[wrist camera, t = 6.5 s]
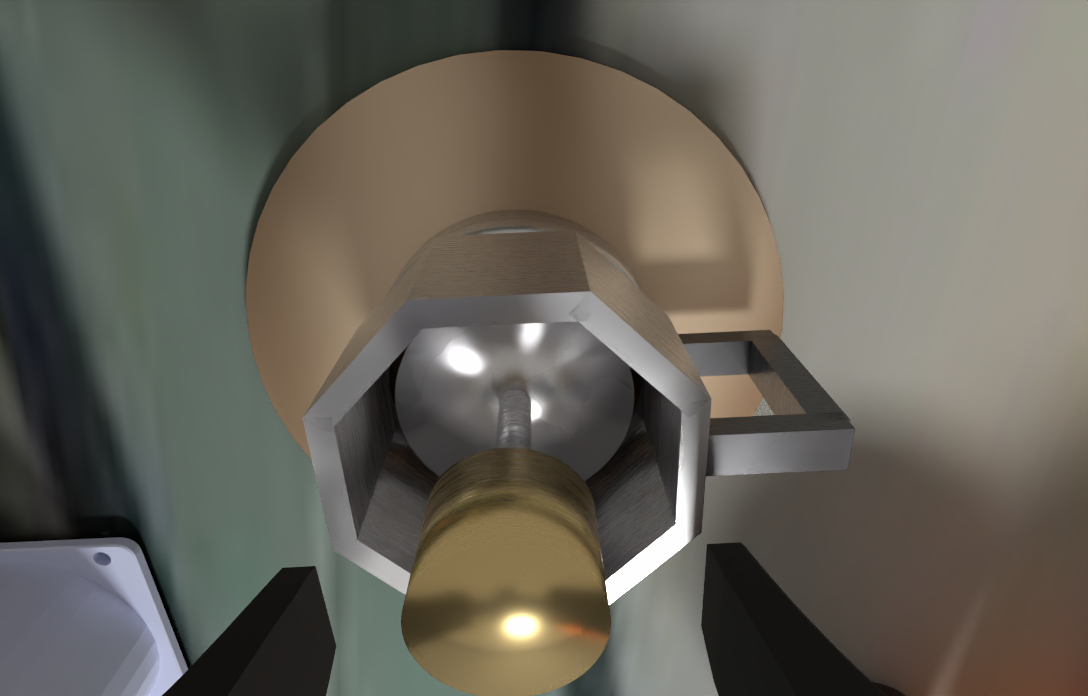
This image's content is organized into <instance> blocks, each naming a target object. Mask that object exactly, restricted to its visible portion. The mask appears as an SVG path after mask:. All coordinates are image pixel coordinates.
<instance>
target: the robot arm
mask: <svg viewBox="0 0 1088 696" xmlns="http://www.w3.org/2000/svg"><path fill="white" fill-rule="evenodd" d="M104 553H105V554H104ZM106 554H107V555H106ZM108 555H109V556H108ZM701 626H702V631H703V635H704V640H705V644H706V649H707V653H708V658H709V662H710V666H711V671H712V675H713V679H714V683H715V686H716V689H717V692H718V695H719V696H886V695H885V694H884V693H883V692H882V691H881V690H880V689H879V688H878V687H877V686H876V685H874V684H873V683H872V682H871V681H870V680H869V679H868V678H867V677H866V676H865V675H864V674H863V673H862V672H861V671H860V670H859V669H857V668H856V667H855V666H854V665H853V664H852V663H851V662H850V661H849V660H848V659H847V658H846V657H845V656H844V655H843V654H842V653H841V652H840V651H839V650H838V649H837V648H836V647H835V646H834V645H833V644H832V643H831V642H830V641H829V640H828V639H827V638H826V637H825V636H824V635H823V634H822V633H821V632H820V631H819V629H818V628H817V627H816V626H815V625H814V624H813V623H812V622H811V621H810V620H809V619H808V618H807V617H806V616H805V615H804V614H803V613H802V612H801V610H800V609H799V608H798V607H797V606H796V605H795V604H794V603H793V602H792V601H791V599H790V598H789V597H788V596H787V595H786V594H785V593H784V592H783V590H782V589H781V588H780V587H779V586H778V585H777V584H776V582H775V581H774V580H773V579H772V578H771V577H770V576H769V574H768V573H767V572H766V571H765V570H764V568H763V567H762V566H761V565H760V564H759V563H758V561H757V560H756V559H755V558H754V557H753V555H752V554H751V553H750V552H749V551H748V549H747V548H746V547H745V546H744V545H743V544H742V543H740V542H739V543H721V544H707V553H706V567H705V581H704V595H703V609H702V624H701ZM335 649H336V644H335V640H334V636H333V632H332V628H331V624H330V621H329V617H328V613H327V609H326V605H325V601H324V597H323V594H322V590H321V586H320V582H319V578H318V574H317V571H316V567H315V566H310V567H292V568H282V569H281V570H280V571H279V572H278V573H277V574H276V575H275V576H274V578H273V579H272V580H271V581H270V582H269V583H268V584H267V585H266V586H265V587H264V588H263V589H262V590H261V592H260V593H259V594H258V595H257V596H256V597H255V598H254V599H253V600H252V601H251V603H250V604H249V605H248V606H247V607H246V608H245V609H244V610H243V611H242V612H241V614H240V615H239V616H238V617H237V618H236V619H235V620H234V621H233V622H232V623H231V625H230V626H229V627H228V628H227V629H226V630H225V631H224V632H223V633H222V634H221V635H220V636H219V637H218V639H217V640H216V641H215V642H214V643H213V644H212V645H211V646H210V647H209V648H208V649H207V650H206V651H205V652H204V653H203V654H202V655H201V657H200V658H199V659H198V660H197V661H196V662H195V663H194V664H193V665H192V666H191V667H190V668H189V669H188V668H187V665H186V662H185V660H184V657H183V655H182V652H181V650H180V647H179V645H178V642H177V639H176V637H175V634H174V632H173V629H172V627H171V624H170V622H169V619H168V616H167V614H166V611H165V609H164V606H163V604H162V601H161V599H160V596H159V593H158V591H157V588H156V586H155V583H154V581H153V578H152V576H151V573H150V570H149V568H148V565H147V563H146V560H145V558H144V555H143V552H142V550H141V548H140V547H139V545H138V544H137V543H136V542H135V541H133V540H131V539H128V538H122V537H116V538H95V539H73V540H52V541H31V542H9V543H0V696H326V693H327V688H328V684H329V679H330V674H331V669H332V664H333V659H334V654H335Z"/></svg>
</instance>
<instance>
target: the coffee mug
mask: <svg viewBox="0 0 1088 696" xmlns="http://www.w3.org/2000/svg"><path fill="white" fill-rule="evenodd" d="M872 683H873V682H872ZM873 684H874V685H876V686H877V687H878V688H879V689H880V690H881V691H882V692H883V693H884V694H885V695H886V696H905V695H904V694H902V693H901V692H899V691H897V690H895V689H893V688H891V687H888V686H885V685H881V684H877V683H873Z"/></svg>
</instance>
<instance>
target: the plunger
mask: <svg viewBox="0 0 1088 696" xmlns="http://www.w3.org/2000/svg"><path fill="white" fill-rule="evenodd" d="M395 403H396V411H397V416H398V420H399V424H400V426H401V429H402V431H403V434H404V436H405V438H406V440H407V441H408V443H409V445H410V447H411V448H412V449H413V451H414V452H415V453H416V455H417V456H418V457H419V459H420V460H421V461H422V462H423V463H424V464H425V465H426V466H427V467H428V468H429V469H431V470H432V471H433V472H434V473H436V474H437V475H438V476H439V479H438V480H437V481H436V483H435V484H434V486H433V487H432V489H431V492H430V494H429V496H428V500H427V503H426V508H425V512H424V517H423V521H422V525H421V530H420V534H419V539H418V543H417V548H416V552H415V556H414V561H413V565H412V570H411V574H410V579H409V583H408V588H407V592H406V596H405V601H404V605H403V610H402V617H401V627H402V634H403V637H404V641H405V644H406V646H407V648H408V650H409V652H410V653H411V655H412V656H413V658H414V659H415V660H416V662H417V663H418V664H419V665H420V666H421V667H422V668H423V669H424V670H425V671H426V672H428V673H429V674H430V675H431V676H433V677H434V678H436V679H437V680H439V681H440V682H442V683H444V684H446V685H448V686H450V687H452V688H455V689H458V690H460V691H463V692H466V693H470V694H474V695H478V696H534V695H539V694H542V693H546V692H549V691H552V690H555V689H557V688H560V687H562V686H564V685H566V684H568V683H570V682H572V681H573V680H575V679H576V678H578V677H579V676H581V675H582V674H583V673H585V672H586V671H587V670H588V669H589V668H590V667H591V666H592V665H593V664H594V663H595V662H596V661H597V659H598V658H599V656H600V655H601V653H602V652H603V650H604V648H605V646H606V644H607V641H608V638H609V634H610V627H611V617H610V608H609V601H608V594H607V587H606V580H605V573H604V566H603V559H602V552H601V546H600V539H599V532H598V525H597V518H596V511H595V505H594V501H593V497H592V495H591V493H590V490H589V488H588V487H587V485H586V483H585V482H584V481H585V480H587V479H588V478H590V477H591V476H592V475H594V474H595V473H596V472H597V471H599V470H600V469H601V468H602V467H603V466H604V465H605V464H606V463H607V462H608V461H609V460H610V459H611V458H612V456H613V455H614V454H615V452H616V451H617V450H618V448H619V447H620V445H621V443H622V441H623V440H624V438H625V436H626V433H627V431H628V428H629V426H630V422H631V418H632V414H633V407H634V384H633V379H632V374H631V370H630V367H629V365H628V364H627V363H626V362H625V361H623V360H622V359H621V358H620V357H619V356H618V355H616V354H615V353H614V352H613V351H612V350H611V349H610V348H608V347H607V346H606V345H605V344H604V343H603V342H601V341H600V340H599V339H598V338H597V337H596V336H594V335H593V334H592V333H591V332H590V331H589V330H587V329H586V328H585V327H584V326H583V325H582V324H580V323H579V322H578V321H575V322H553V323H531V324H510V325H488V326H466V327H445V328H424V329H423V330H422V331H421V332H420V333H419V334H418V335H417V336H416V337H415V338H414V339H413V341H412V342H411V343H410V344H409V345H408V346H407V349H406V351H405V354H404V356H403V359H402V361H401V364H400V367H399V370H398V374H397V379H396V387H395Z"/></svg>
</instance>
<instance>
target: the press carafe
mask: <svg viewBox="0 0 1088 696" xmlns="http://www.w3.org/2000/svg"><path fill="white" fill-rule="evenodd" d="M575 321H578V322H579V323H580V324H582V325H583V326H584V327H585V328H586V329H587V330H589V331H590V332H591V333H592V334H593V335H594V336H596V337H597V338H598V339H599V340H600V341H601V342H603V343H604V344H605V345H606V346H607V347H608V348H610V349H611V350H612V351H613V352H614V353H615V354H616V355H618V356H619V357H620V358H621V359H622V360H623V361H625V362H626V363H627V364H628V365H629V367H630V370H631V374H632V379H633V384H634V407H633V414H632V418H631V422H630V426H629V428H628V431H627V433H626V436H625V438H624V440H623V441H622V443H621V445H620V447H619V448H618V450H617V451H616V452H615V454H614V455H613V456H612V458H611V459H610V460H609V461H608V462H607V463H606V464H605V465H604V466H603V467H602V468H601V469H600V470H599V471H597V472H596V473H595V474H594V475H592V476H591V477H590V478H588V479H587V480H585V481H584V482H585V483H586V485H587V487H588V488H589V490H590V493H591V495H592V497H593V501H594V505H595V511H596V518H597V525H598V532H599V539H600V546H601V552H602V559H603V566H604V573H605V580H606V587H607V594H608V601H609V605H610V604H611V603H612V602H613V601H615V600H616V599H617V598H619V597H620V596H621V595H622V594H624V593H625V592H626V591H627V590H629V589H630V588H631V587H633V586H634V585H635V584H636V583H638V582H639V581H640V580H641V579H643V578H644V577H645V576H647V575H648V574H649V573H650V572H652V571H653V570H654V569H655V568H657V567H658V566H659V565H661V564H662V563H663V562H664V561H666V560H667V559H668V558H669V557H671V556H672V555H673V554H675V553H676V552H677V551H678V550H680V549H681V548H682V547H683V546H685V545H686V544H687V543H689V542H690V541H691V540H692V539H694V538H695V537H696V536H697V535H699V534H700V533H701V530H702V517H703V505H704V492H705V479H706V476H720V475H741V474H763V473H784V472H806V471H827V470H847V469H848V464H849V459H850V453H851V448H852V443H853V438H854V432H855V428H854V427H853V426H852V425H851V423H850V419H849V418H848V417H847V416H846V414H845V413H844V412H843V411H842V410H841V409H840V407H839V406H838V405H837V404H836V403H835V402H834V401H833V399H832V398H831V397H830V396H829V395H828V394H827V392H826V391H825V390H824V389H823V388H822V387H821V385H820V384H819V383H818V382H817V381H816V380H815V379H814V377H813V376H812V375H811V374H810V373H809V372H808V370H807V369H806V368H805V367H804V366H803V365H802V363H801V362H800V361H799V360H798V359H797V358H796V357H795V355H794V354H793V353H792V352H791V351H790V350H789V348H788V347H787V346H786V345H785V344H784V343H783V341H782V340H781V339H780V338H779V337H778V336H777V335H774V333H773V332H772V331H771V330H753V331H731V332H709V333H688V334H678V333H677V331H676V329H675V328H674V326H673V324H672V322H671V320H670V318H669V316H668V315H667V314H666V313H665V312H664V311H663V310H662V309H661V308H659V307H658V306H657V305H656V304H655V303H654V302H653V301H652V300H651V299H650V298H649V297H647V296H646V295H645V294H644V293H643V291H642V289H641V287H640V285H639V283H638V281H637V279H636V277H635V275H634V273H633V272H632V270H631V269H630V267H629V266H628V265H627V263H626V262H625V260H624V259H623V258H622V257H621V256H620V255H619V254H618V252H617V251H616V250H615V249H614V248H613V247H612V246H611V245H610V244H608V243H607V242H606V241H605V240H603V239H602V238H601V237H600V236H598V235H597V234H595V233H594V232H592V231H591V230H589V229H587V228H586V227H584V226H582V225H580V224H578V223H576V222H573V221H571V220H569V219H566V218H564V217H560V216H557V215H553V214H550V213H546V212H539V211H533V210H512V209H509V210H500V211H491V212H487V213H483V214H478V215H474V216H471V217H469V218H466V219H463V220H461V221H458V222H456V223H454V224H452V225H450V226H448V227H447V228H445V229H443V230H441V231H440V232H438V233H437V234H435V235H434V236H433V237H431V238H430V239H429V240H427V241H426V242H425V243H424V244H423V245H422V246H421V247H420V248H419V249H418V250H417V251H416V252H415V253H414V254H413V255H412V256H411V257H410V259H409V260H408V261H407V263H406V264H405V266H404V267H403V268H402V270H401V271H400V273H399V275H398V277H397V278H396V280H395V282H394V284H393V285H392V287H391V289H390V291H389V292H388V294H387V295H386V296H385V297H384V299H383V300H382V301H381V302H380V303H379V304H378V305H377V307H376V308H375V309H374V310H373V311H372V312H371V314H370V315H369V316H368V317H367V318H366V319H365V320H364V322H363V323H362V324H361V325H360V326H359V327H358V329H357V330H356V331H355V333H354V334H353V336H352V338H351V339H350V341H349V343H348V344H347V346H346V347H345V349H344V351H343V352H342V354H341V356H340V357H339V359H338V361H337V362H336V364H335V365H334V367H333V369H332V370H331V372H330V374H329V375H328V377H327V378H326V380H325V382H324V383H323V385H322V387H321V388H320V390H319V392H318V393H317V395H316V396H315V398H314V400H313V401H312V403H311V405H310V406H309V408H308V409H307V411H306V413H305V414H304V416H303V418H302V419H303V423H304V428H305V432H306V436H307V441H308V445H309V449H310V454H311V458H312V462H313V467H314V471H315V475H316V480H317V484H318V488H319V493H320V497H321V501H322V506H323V510H324V515H325V519H326V523H327V528H328V532H329V536H330V541H331V545H332V549H333V550H334V551H336V552H337V553H339V554H340V555H342V556H344V557H345V558H347V559H349V560H350V561H352V562H353V563H355V564H357V565H358V566H360V567H361V568H363V569H365V570H366V571H368V572H370V573H371V574H373V575H374V576H376V577H378V578H379V579H381V580H382V581H384V582H386V583H387V584H389V585H391V586H392V587H394V588H395V589H397V590H399V591H400V592H402V593H404V594H405V595H406V592H407V588H408V583H409V579H410V574H411V570H412V565H413V561H414V556H415V552H416V548H417V543H418V539H419V534H420V530H421V525H422V521H423V517H424V512H425V508H426V503H427V500H428V496H429V494H430V492H431V489H432V487H433V486H434V484H435V483H436V481H437V480H438V479H439V476H438V475H437V474H436V473H434V472H433V471H432V470H431V469H429V468H428V467H427V466H426V465H425V464H424V463H423V462H422V461H421V460H420V459H419V457H418V456H417V455H416V453H415V452H414V451H413V449H412V448H411V447H410V445H409V443H408V441H407V440H406V438H405V436H404V434H403V431H402V429H401V426H400V424H399V420H398V416H397V411H396V403H395V387H396V379H397V374H398V370H399V367H400V364H401V361H402V359H403V356H404V354H405V351H406V349H407V346H408V345H409V344H410V343H411V342H412V341H413V339H414V338H415V337H416V336H417V335H418V334H419V333H420V332H421V331H422V330H423V329H424V328H445V327H466V326H488V325H510V324H531V323H553V322H575ZM744 374H748V375H749V376H750V378H751V379H752V381H753V382H754V384H755V385H756V387H757V388H758V390H759V391H760V393H761V394H762V396H763V397H764V399H765V400H766V402H767V403H768V405H769V406H770V408H771V409H772V411H773V412H774V414H775V415H769V416H747V417H726V418H710V414H711V401H712V399H711V397H710V395H709V393H708V391H707V389H706V387H705V385H704V383H703V381H702V379H701V378H700V377H701V376H723V375H744Z"/></svg>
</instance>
